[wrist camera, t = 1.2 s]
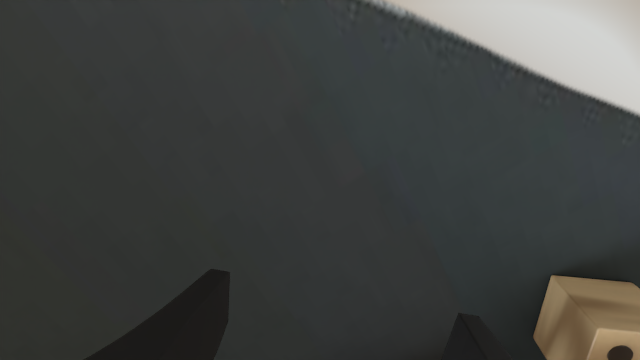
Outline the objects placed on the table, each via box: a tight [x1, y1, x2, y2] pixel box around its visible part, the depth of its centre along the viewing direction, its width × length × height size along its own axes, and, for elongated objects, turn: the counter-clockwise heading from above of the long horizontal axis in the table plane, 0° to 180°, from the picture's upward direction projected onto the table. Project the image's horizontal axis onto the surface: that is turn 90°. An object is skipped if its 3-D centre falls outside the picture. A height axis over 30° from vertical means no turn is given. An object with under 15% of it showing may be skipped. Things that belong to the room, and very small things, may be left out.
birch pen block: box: [533, 275, 640, 360], centre depth 20 cm, size 4×4×5 cm
